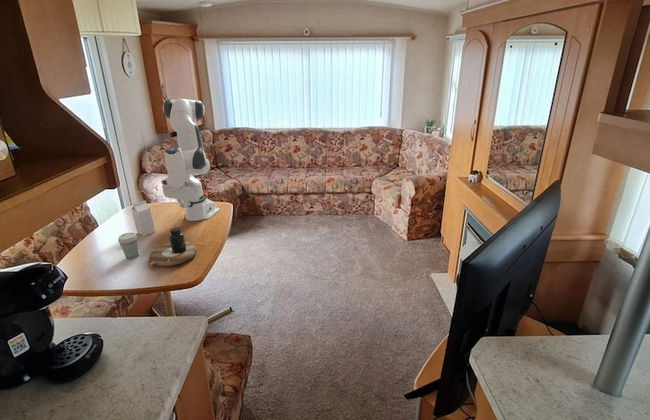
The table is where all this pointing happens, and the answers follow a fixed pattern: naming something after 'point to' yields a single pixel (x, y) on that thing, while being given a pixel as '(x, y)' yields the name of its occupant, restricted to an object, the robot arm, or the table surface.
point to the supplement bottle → (177, 240)
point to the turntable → (171, 255)
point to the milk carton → (143, 218)
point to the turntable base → (153, 265)
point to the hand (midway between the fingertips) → (183, 207)
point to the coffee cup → (129, 245)
